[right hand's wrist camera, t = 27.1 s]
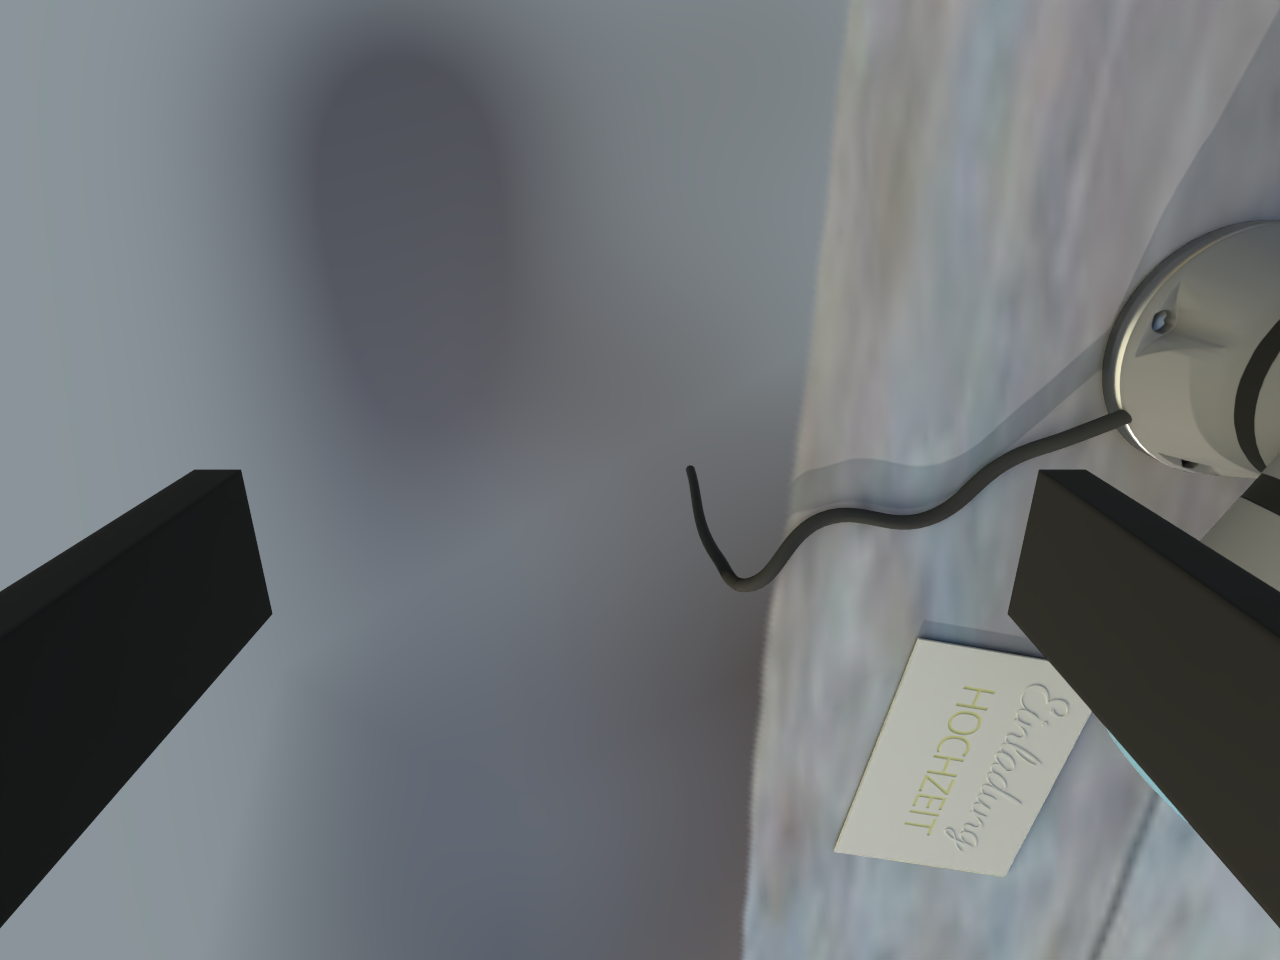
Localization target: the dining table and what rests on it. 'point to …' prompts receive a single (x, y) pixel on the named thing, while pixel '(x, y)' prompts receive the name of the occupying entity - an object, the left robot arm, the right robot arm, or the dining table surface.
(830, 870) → the dining table surface
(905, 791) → the invitation card
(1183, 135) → the dining table surface
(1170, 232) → the dining table surface
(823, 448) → the dining table surface
